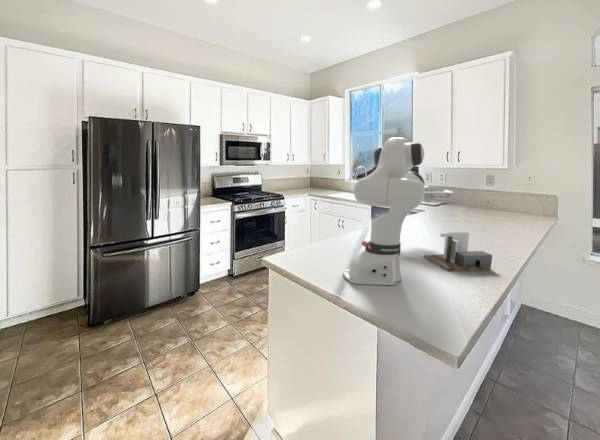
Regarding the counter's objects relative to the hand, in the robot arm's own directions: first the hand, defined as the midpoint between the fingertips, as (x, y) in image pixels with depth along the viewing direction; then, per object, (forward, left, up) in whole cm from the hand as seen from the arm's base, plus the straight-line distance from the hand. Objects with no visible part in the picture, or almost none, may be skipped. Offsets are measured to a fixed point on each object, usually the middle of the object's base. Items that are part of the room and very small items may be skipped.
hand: (442, 196), depth 160 cm
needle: (-8, -22, -27) cm, 35 cm away
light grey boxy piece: (-2, -20, -26) cm, 33 cm away
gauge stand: (-4, -21, -28) cm, 35 cm away
